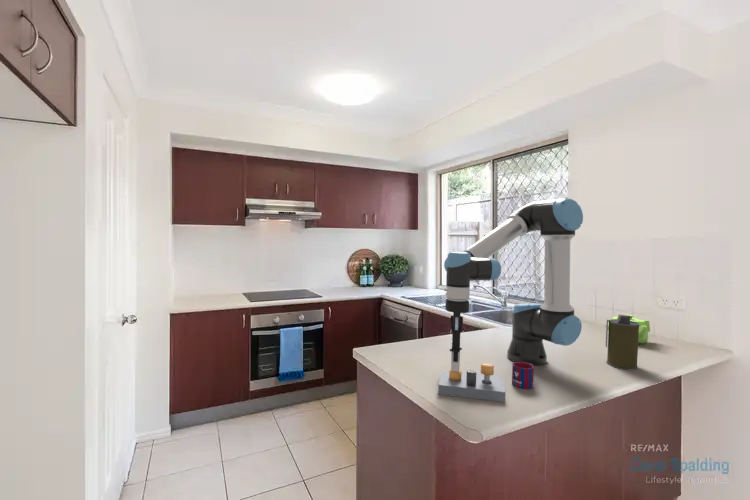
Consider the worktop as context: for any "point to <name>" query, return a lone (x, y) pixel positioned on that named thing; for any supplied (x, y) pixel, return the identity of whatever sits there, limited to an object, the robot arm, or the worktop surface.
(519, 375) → the mug
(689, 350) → the worktop surface
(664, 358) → the worktop surface
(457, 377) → the knob
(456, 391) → the mount
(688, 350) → the worktop surface
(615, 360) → the canister
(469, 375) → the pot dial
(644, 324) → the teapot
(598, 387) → the worktop surface
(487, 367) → the knob
